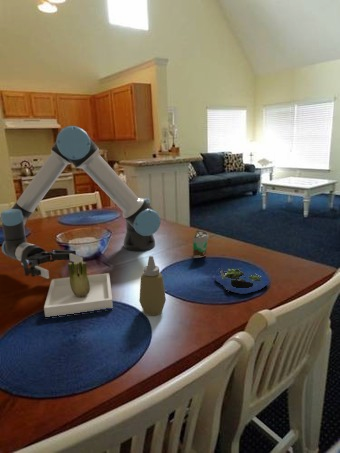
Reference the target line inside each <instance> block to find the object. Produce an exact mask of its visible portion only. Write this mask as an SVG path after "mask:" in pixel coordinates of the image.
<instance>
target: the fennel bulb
mask: <svg viewBox="0 0 340 453" xmlns="http://www.w3.org/2000/svg"><path fill="white" fill-rule="evenodd" d="M67 266H68V272H69V273H68V274H69V277H70V285H71V289H72V291H73V293H74V295H76V296H77V297H84V296H86V295H87V294H88V293H89V291H90V284H89V280H88V276H87V275H88V272H87V271H88V270H87V262H86V261H83V263H82V262H81V261H79V264H78V263H77V262H75V263H74V262H69V263H67Z"/></svg>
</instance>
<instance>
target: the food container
mask: <svg viewBox="0 0 340 453" xmlns="http://www.w3.org/2000/svg"><path fill="white" fill-rule="evenodd" d="M195 231H196V232H195V234H194V237H192V239H193V240H192V245H193V246H192V250H193V251H192V253H193V257H199V256H204V255H205V254H206V255H207V248H208V241H209V239H210V237H209V233H208V232H207V231H205V230H201V229H196V230H195Z"/></svg>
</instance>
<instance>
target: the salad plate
mask: <svg viewBox="0 0 340 453" xmlns="http://www.w3.org/2000/svg"><path fill="white" fill-rule="evenodd" d="M239 269H240V268H235V269H233V268H232V269H230V268H227V271H226V272H227V273H225V275H224V273H223V270H224V269H223V270H221V271H220V273H221V276H222V279H223V280H225V277H228V278H231V279H236V280H231V285H232V286H233V287H236V288H249V287H252V286H253V283H250V282H246V281H245V280H243V279H239V277H240V276H242V275H244V273H243V272H242V271H240V270H239ZM256 275H257V274H256ZM256 275H253V276H252V275H251V276H250V277H249V279H252V281H254V280H255V281H261V280H260V277H261V276H260V275H258V276H256ZM259 276H260V277H259ZM237 279H239V280H237ZM226 290H227V289H226ZM226 290H225V291H226Z"/></svg>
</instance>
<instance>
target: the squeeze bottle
mask: <svg viewBox="0 0 340 453" xmlns="http://www.w3.org/2000/svg"><path fill="white" fill-rule="evenodd" d="M163 277H164V276H163V274H162V273H161V272H160V266H158V265H156V262H155V259H154V256H153V255H150V256H148V261H147V265H146V266H144V267H143V273H142V274H141V276H140V284H139V285H140V286H139V287H140V288H139V299H138V301H139V304H140V306H141V308H142V309H141V310H143V313H144V314H145V315H147V316H157V315H160V314H161V313H162V312H163V310H164V306H165V305H166V300H167V299H166V297H167V296H166V290H165V284H164V283H165V282H164V278H163Z"/></svg>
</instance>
